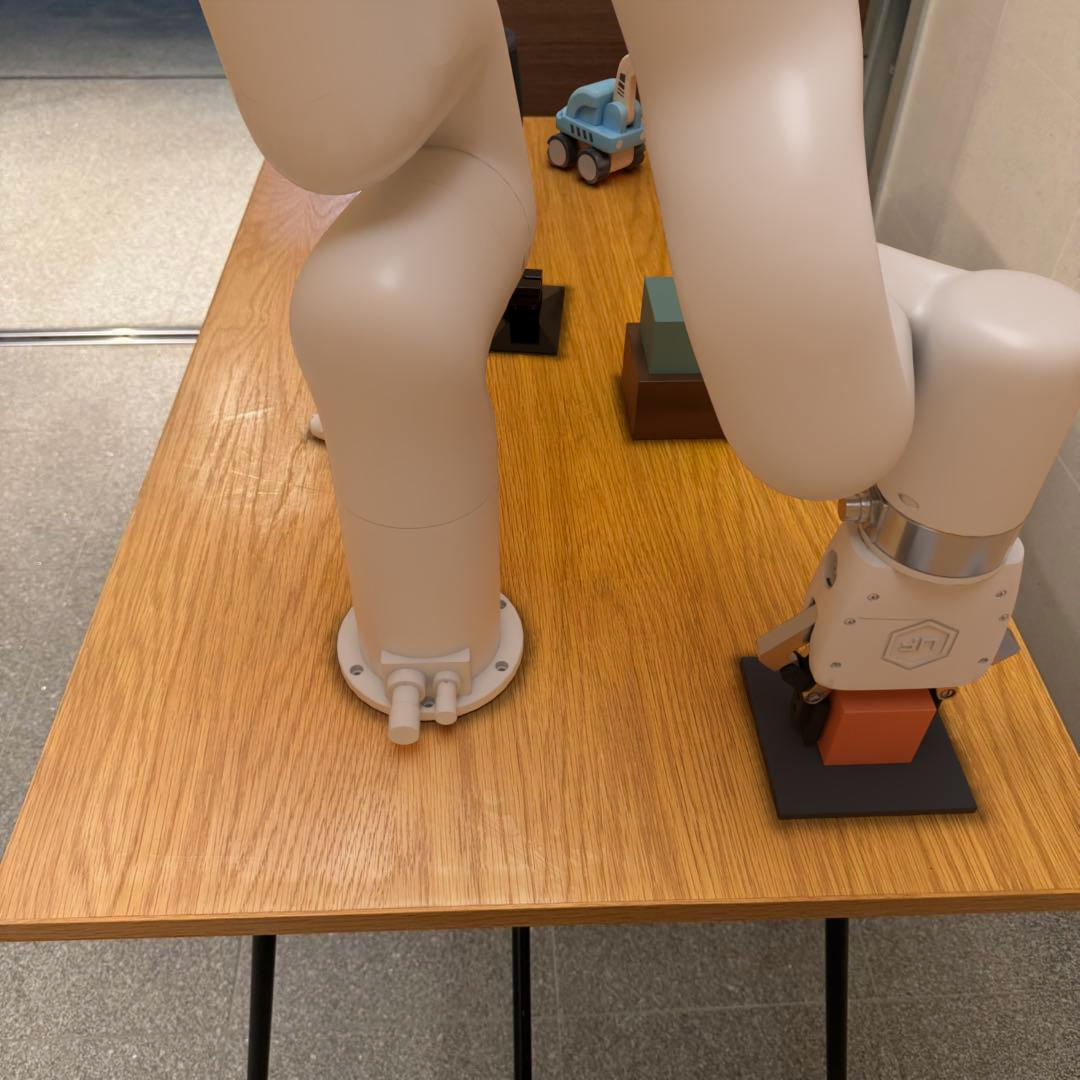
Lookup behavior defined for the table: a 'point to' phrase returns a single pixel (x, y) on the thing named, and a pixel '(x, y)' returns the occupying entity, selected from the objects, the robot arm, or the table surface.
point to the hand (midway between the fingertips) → (857, 721)
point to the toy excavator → (600, 127)
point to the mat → (848, 788)
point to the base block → (664, 398)
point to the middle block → (665, 329)
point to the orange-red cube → (875, 726)
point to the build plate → (531, 318)
